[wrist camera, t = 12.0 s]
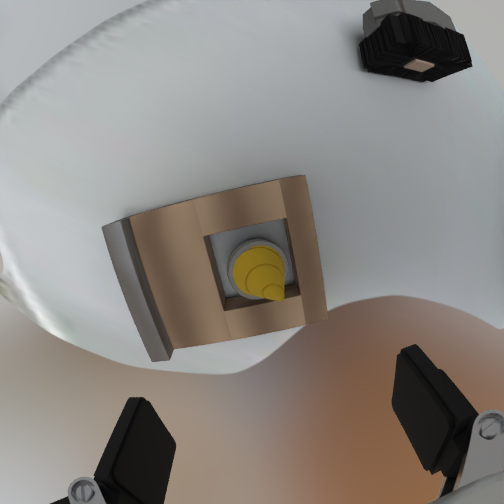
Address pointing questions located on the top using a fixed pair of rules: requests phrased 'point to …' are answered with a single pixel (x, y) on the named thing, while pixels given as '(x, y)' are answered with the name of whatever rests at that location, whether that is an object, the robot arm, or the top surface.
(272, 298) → the drill bit
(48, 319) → the top surface
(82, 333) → the top surface
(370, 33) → the cpu cooler
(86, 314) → the top surface
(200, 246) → the jig
